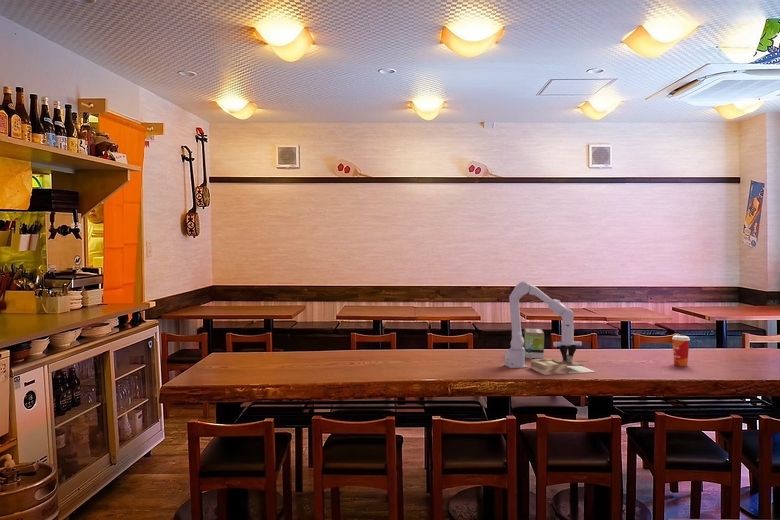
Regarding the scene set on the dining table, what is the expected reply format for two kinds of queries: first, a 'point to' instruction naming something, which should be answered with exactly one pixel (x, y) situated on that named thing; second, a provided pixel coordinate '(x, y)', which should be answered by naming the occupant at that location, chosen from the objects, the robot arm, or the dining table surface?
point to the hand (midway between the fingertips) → (567, 360)
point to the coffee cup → (680, 350)
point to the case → (548, 366)
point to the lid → (568, 361)
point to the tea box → (534, 343)
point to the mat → (578, 369)
